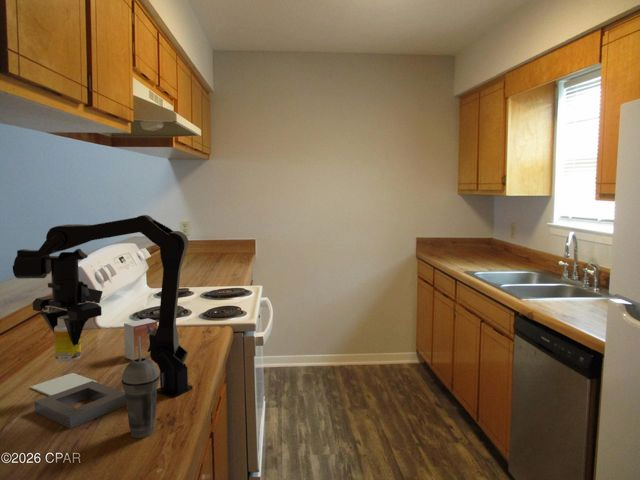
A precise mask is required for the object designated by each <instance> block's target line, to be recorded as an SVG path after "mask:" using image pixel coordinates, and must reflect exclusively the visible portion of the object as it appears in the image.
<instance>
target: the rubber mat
mask: <svg viewBox="0 0 640 480" xmlns="http://www.w3.org/2000/svg"><path fill="white" fill-rule="evenodd" d="M91 381H94V382H97V383H98V381H97V380H94V379H93V378H92V379H91V378H88V377H85V376H83V375H80V374H77V373H74V372H71V373H68V374H65V375H62V376H59V377H56V378H53V379H49V380H46V381H44V382H43V381H42V382H40V383H37V384H34V385H31V386H30V389H32V390H34V391H36V392H39V393H41V394H43V395H46V396H47V397H48V396H51V395H54V394H57V393H60V392H62V391H65V390H68V389H71V388H74V387H77V386H79V385H82V384H85V383H88V382H91Z"/></svg>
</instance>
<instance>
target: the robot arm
mask: <svg viewBox="0 0 640 480" xmlns="http://www.w3.org/2000/svg"><path fill="white" fill-rule="evenodd" d="M137 233H140V234H142V235H143V236H145V237H146V239H148V240H150V241H151V242H152V244H154V245H156V246H158V247H159V252H160V260H161V261H160V262H161V265H162V281H161V293H160V294H161V295H160V304H159V305H160V306H159V316H158V317H159V318H158V324H157V329H155V328H154V330H153V331H152V332H151V334H150V335H149V342H150V346H149V349H148V351H147V352H150V357H149V358H150V360H151V361H152V362H153V363H154V364H157V365H156V366H157V368H158V370H159V385H160V387H157V393H159V394H162V395H165V396H168V397H171V398H175V397H177V396H180V395H182V394H183V393H186V392H188V391H190V390H192V389H193V387H194V386H193V385H190V384H189V383H188V381H189V380H188V379H189V377H188V374H189V373H188V366H187V365H186V363H185V361H186V360H187V357H188V355H189V353H188V351H187V350H186V349H185V348H183V347H182V346H181V345H180V343H179V342H180V341H179V332H178V327H177V323H176V322H177V313H178V302H179V290H180V279H181V270H182V266H183V263H184V260H185V257H186V254H187V250H188V248H189V239H188V236H187V235H186V234H185V233H184V232H182V231H180V230H179V231H178V230H172V229H171V228H169V227H168V226H166V225H165V224H162V223H160V222H159V221H157V220H155V219H154V218H153V217H151V216H150V215H149V214H143V215H138V216H137V217H131V218H126V219H120V220H119V219H118V220H114V221H108V222H101V223H95V224H63V225H57V226H53V227H51V228H49V230H48V231H47V233H46V235H45V238H46V239H45V241H44V242H43V244H42V245H41V246H40V248H39V249H24V248H23V249H22V248H21V249H19V250H17V251H16V253H17V254H16V256H15V258H14V260H13V261H14V262H13V265H12V272H13V275H14V277H15V279H17V280H19V279H22V280H23V279H24V280H25V279H45V278H47V276H48V275H50V274H51V282H47V288H50V289H51V293H52V294H51V295H47V296H41V297H36V298H35V299H34V300H33V301H32V310H33V311H35V312H40V313H39V315H40V316H42V319H44V321H45V322H46V323H47V325H48V327H49V328H50V330H51V332H52V333H53V334H54V328H55V326H57V325H58V323H57V322H58V318H59V317H61V316H67V315H68V316H69V318H65V319H64V322H65V325H66V328H67V331H68V333H69V336H70V339H71V341H72V344H73V345H76V344H78V342H79V339H80V336H82V333H83V330H84V327H85V324H86V322H88V321H89V320H90V319H92V318H97V317H101V316H102V314H103V313H102V306H101V305H100V303H101V299H102V296H103V292H104V291H103V290H98V289H93V288H89V285H88V284H86V283H84V281H82V280H80V273H79V272H80V271H79V270H80V269H79V260H80V261H82V260H84V259H87V258H88V254H86V253H85V252H83V251H82V249H81V248H76V249H75V250H74V251H65V250H70V249H72V248H75V247H78V246H81V245H84V244H87V243H90V242H92V241H97V240H103V239H107V238H114V237H119V236H125V235H132V234H137ZM58 252H59V254H58V255H53V254H55V253H58ZM94 302H95V303H94Z"/></svg>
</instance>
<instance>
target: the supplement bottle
mask: <svg viewBox="0 0 640 480" xmlns="http://www.w3.org/2000/svg"><path fill="white" fill-rule="evenodd" d="M65 318H69V316H68V314H67V315H66V316H61V317H59V318H58V322H57V323H58V325H57V326H55V328H54V333H53V335H54V339H53V340H54V358H55V360H56V361H57V362H60V363H66V362H67V363H68V362H74V361H76V360H78V359H80V358H82V346H81V345H82V344H81V343H82V341H81V336H82V335H81V336H80V339H79V342H78V344H76V345H73V344H72V341H71V339H70V336H69V333H68V331H67V328H66V325H65V322H64V319H65Z"/></svg>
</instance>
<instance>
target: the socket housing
mask: <svg viewBox="0 0 640 480" xmlns="http://www.w3.org/2000/svg"><path fill="white" fill-rule="evenodd" d="M94 381H95V380H94ZM94 381H91V382H88V383H85V384H82V385H79V386H77V387H74V388H71V389H68V390H65V391H62V392H60V393H57V394H54V395H51V396H48V395H47V396H45V397H42V398H41V399H37V400H35V401H33V403H34V404H33V405H34V407H33V408H34V413H35V414H38V415H40V416H42V417H43V418H44V417H45V418H46V419H49V420H51V421H52V422H55V423H58V424H60V425H61V426H64V427H66V428H68V429H73V428H75V427H79V425H82V424H86V423H88V422H90V421H92V420H94V419H97V418H99V417H101V416H104V415H106V414H108V413H111V412H113V411H115V410H117V409H119V408H123V407H125V406H127V405H126V397H125V392H124V391H121V390H119V389H116V388H114V387H110V386H107V385H105V384H102V383H99V382H98V381H97V382H94ZM86 399H91V400H93V401H90V402H88V403H86V404H83V405H80V406H78V407H74V406H71V405H73V404H76V403H79V402H81V401H84V400H86Z"/></svg>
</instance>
